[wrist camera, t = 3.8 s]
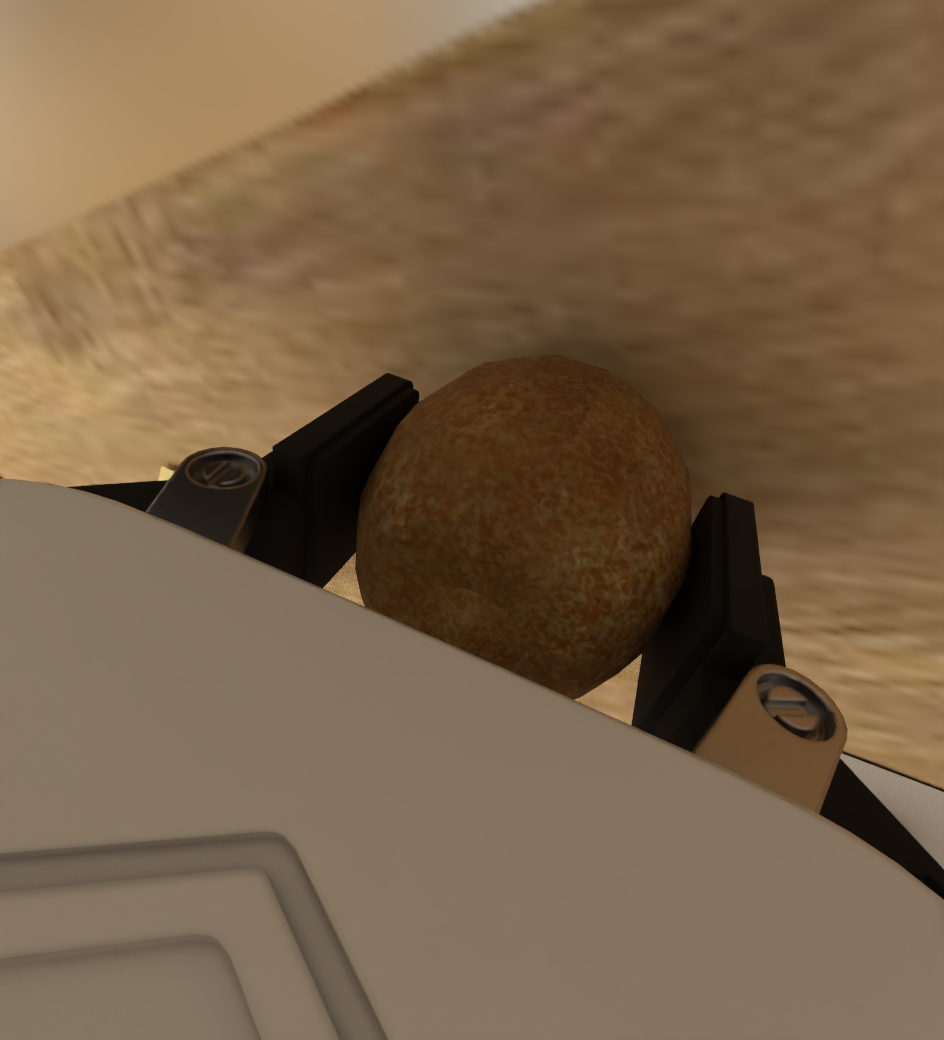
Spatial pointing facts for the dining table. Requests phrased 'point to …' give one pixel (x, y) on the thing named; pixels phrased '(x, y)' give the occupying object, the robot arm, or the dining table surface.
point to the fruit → (529, 521)
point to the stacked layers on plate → (907, 804)
